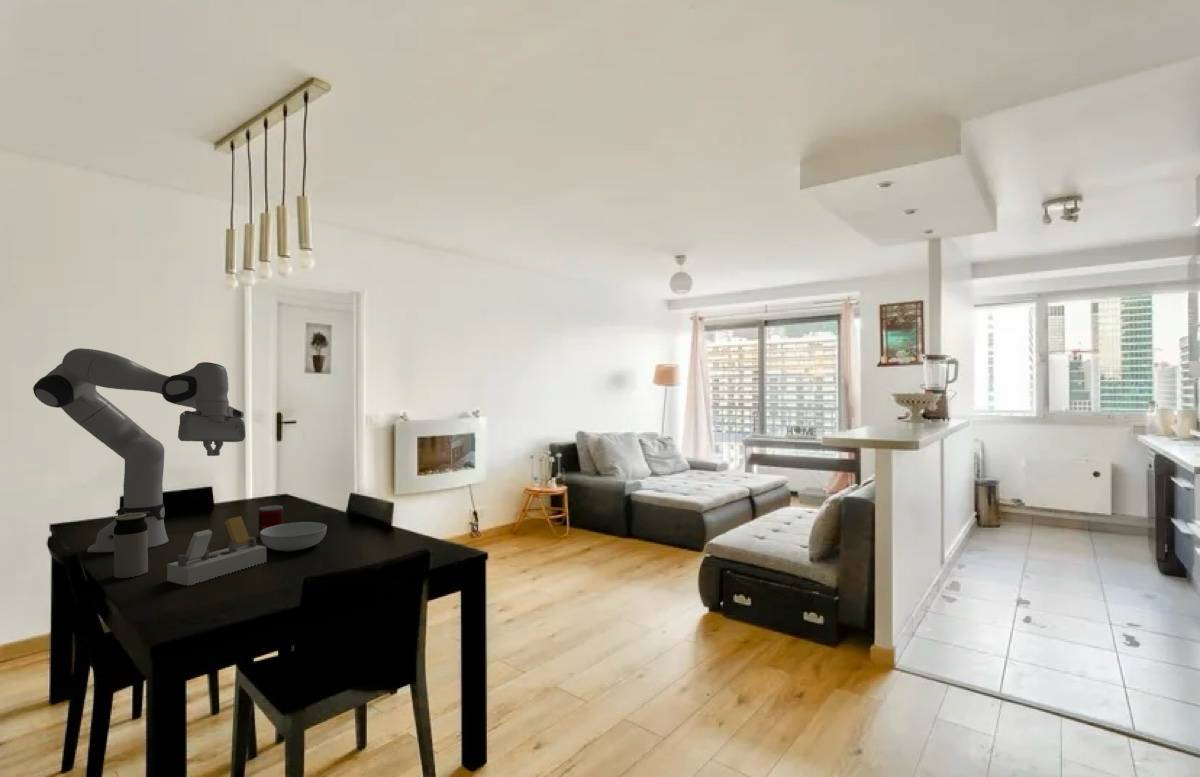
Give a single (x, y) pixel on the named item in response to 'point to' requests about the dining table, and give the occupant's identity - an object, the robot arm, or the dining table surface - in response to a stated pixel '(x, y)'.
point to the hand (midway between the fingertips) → (213, 455)
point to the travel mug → (130, 545)
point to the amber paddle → (238, 531)
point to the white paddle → (198, 545)
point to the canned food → (270, 516)
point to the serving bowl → (293, 535)
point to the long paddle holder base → (215, 563)
